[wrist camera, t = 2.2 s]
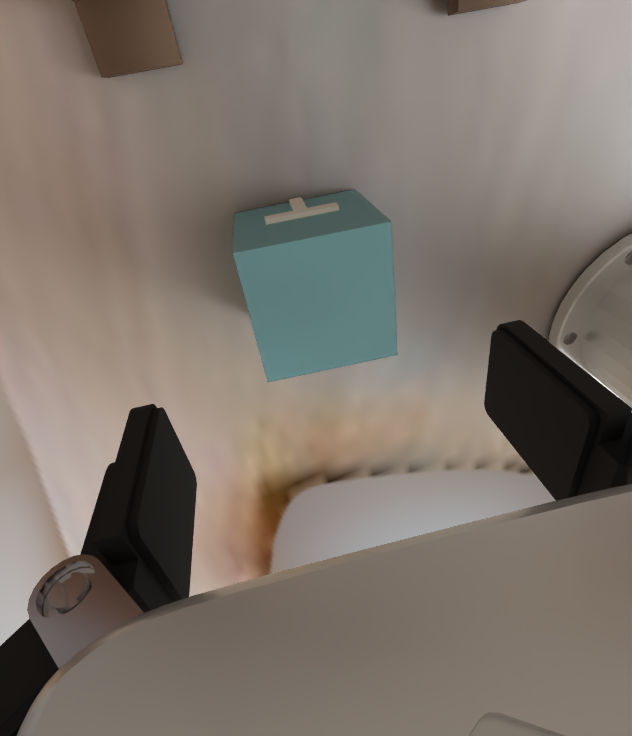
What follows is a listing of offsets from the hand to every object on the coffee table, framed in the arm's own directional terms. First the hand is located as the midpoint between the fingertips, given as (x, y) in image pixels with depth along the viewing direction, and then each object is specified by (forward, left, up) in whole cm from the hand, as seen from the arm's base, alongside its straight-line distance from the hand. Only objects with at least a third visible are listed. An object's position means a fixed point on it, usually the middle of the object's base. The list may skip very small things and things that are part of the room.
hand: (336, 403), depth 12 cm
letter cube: (-1, 0, -12) cm, 12 cm away
